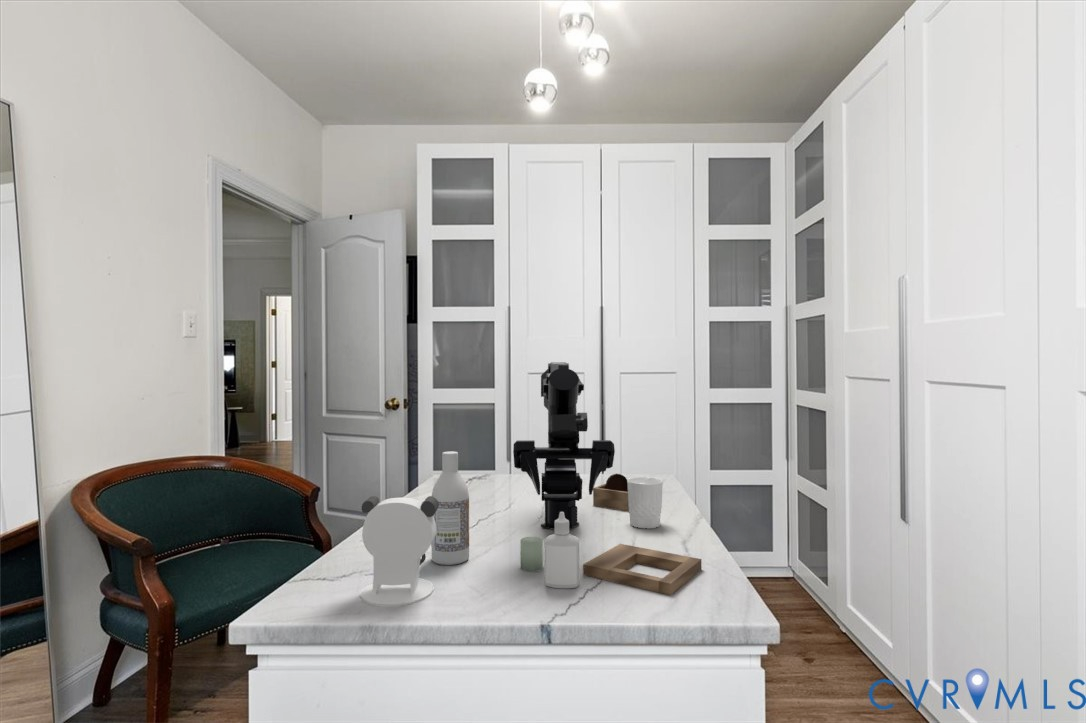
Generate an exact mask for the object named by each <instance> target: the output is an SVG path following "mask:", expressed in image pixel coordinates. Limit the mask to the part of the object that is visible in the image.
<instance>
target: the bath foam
mask: <svg viewBox="0 0 1086 723" xmlns="http://www.w3.org/2000/svg"><path fill="white" fill-rule="evenodd" d="M441 455H442V456H441V460H442V461H441V464H442V465H441V466H442V467H441V468H442V472H441V473H440V475H439V476H438V478H437V479H436V482H435V483H434V485H433V488H432V492H431V496H433V497H435V498H436V499H437V501H438V503H439V507H438V509H437V511H436V512H435V514H434V515H433V517H434V519H435V522H436V535H435V537H434V539H433V541H432V543H431V545H430V546H431V560H432V562H434V563H435V564H438V565H442V566H453V565H455V566H456V565H460V564H463V563H465V562H466V561H467V560H469V558H470V494H469V492H470V491H469V489H468V485H467V483H466V481H465V479H464V478H463V477H462V475H461V473H460V471H459V452H458V451H452V450H451V451H443V452H442V454H441Z"/></svg>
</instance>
